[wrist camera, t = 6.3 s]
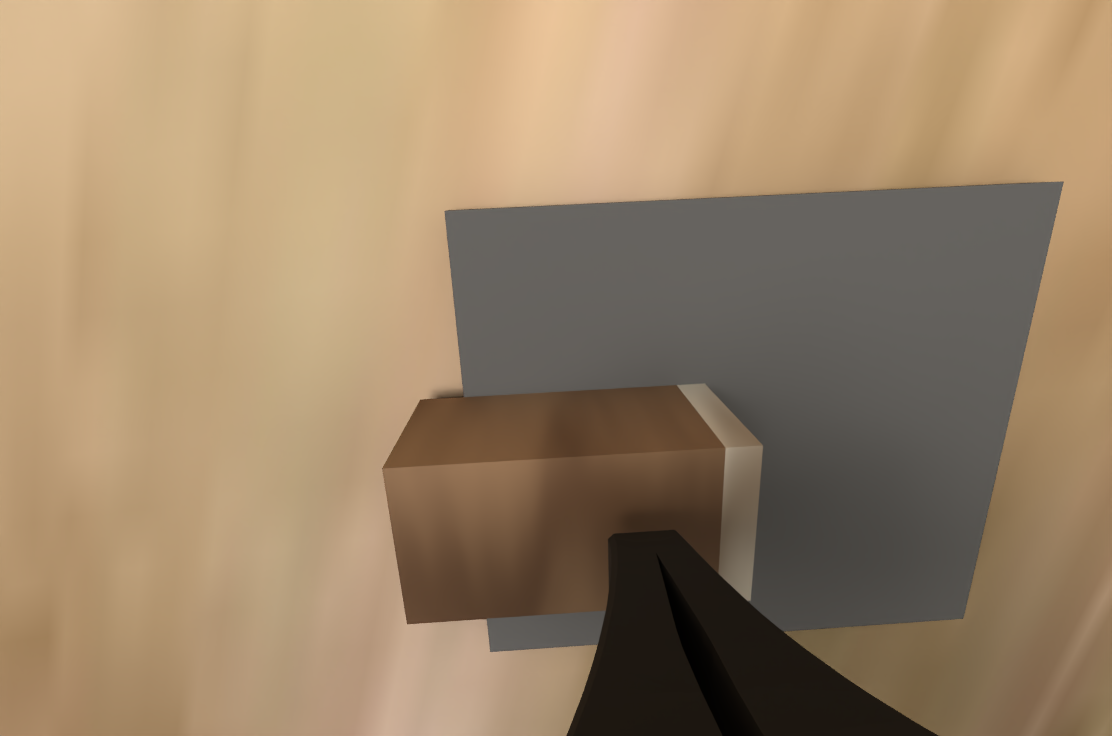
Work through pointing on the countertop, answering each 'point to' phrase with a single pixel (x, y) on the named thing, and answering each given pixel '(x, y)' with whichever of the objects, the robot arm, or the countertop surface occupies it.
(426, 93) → the countertop surface
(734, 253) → the rubber mat
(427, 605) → the walnut block
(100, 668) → the countertop surface
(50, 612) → the countertop surface
